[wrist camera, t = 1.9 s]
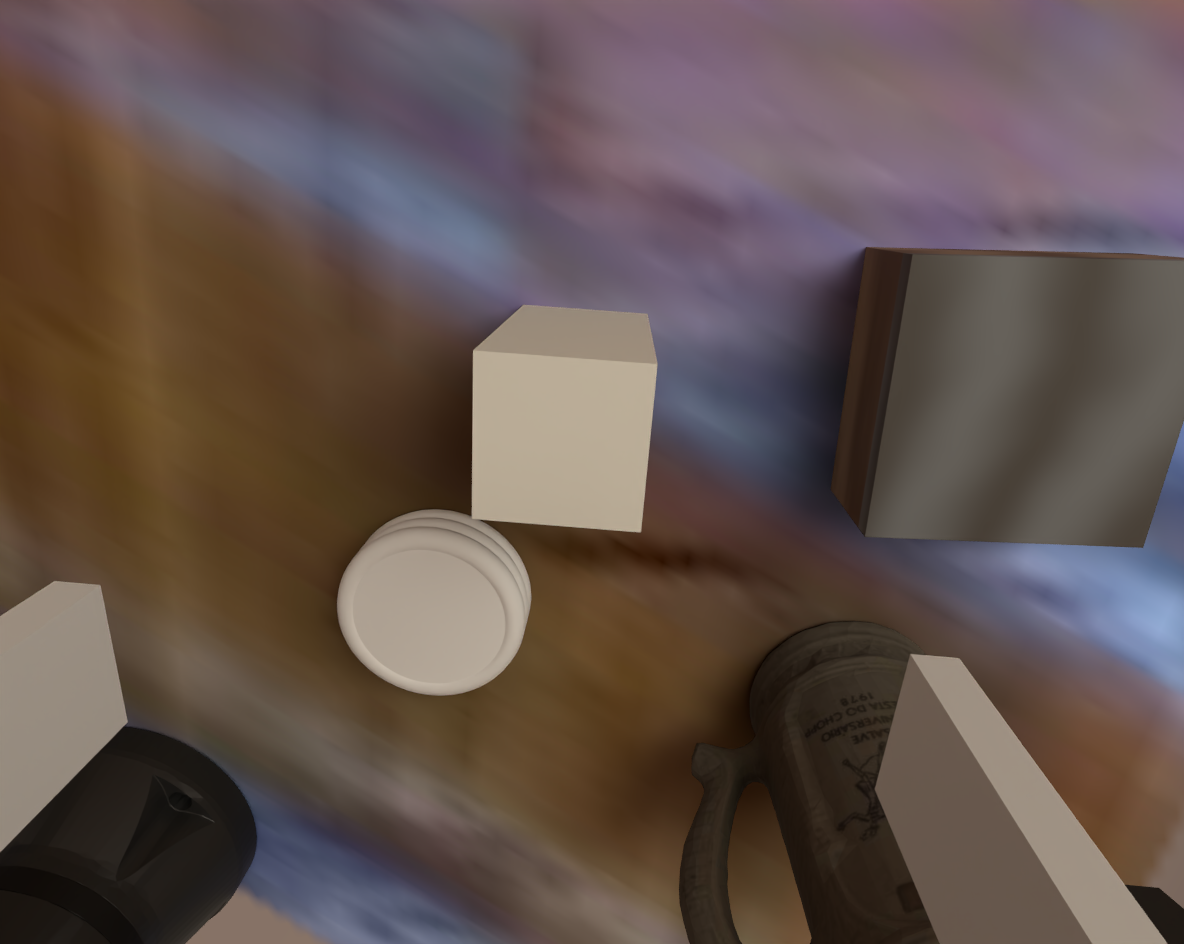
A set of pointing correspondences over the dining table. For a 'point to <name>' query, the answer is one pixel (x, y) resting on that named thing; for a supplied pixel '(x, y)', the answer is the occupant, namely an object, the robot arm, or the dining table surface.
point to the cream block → (563, 418)
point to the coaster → (435, 602)
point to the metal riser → (1012, 395)
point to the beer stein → (813, 791)
